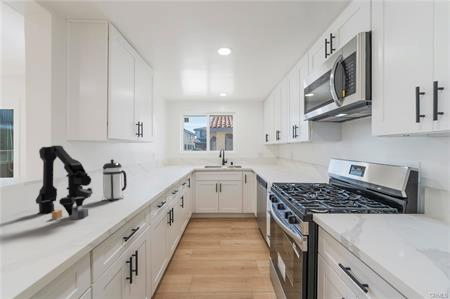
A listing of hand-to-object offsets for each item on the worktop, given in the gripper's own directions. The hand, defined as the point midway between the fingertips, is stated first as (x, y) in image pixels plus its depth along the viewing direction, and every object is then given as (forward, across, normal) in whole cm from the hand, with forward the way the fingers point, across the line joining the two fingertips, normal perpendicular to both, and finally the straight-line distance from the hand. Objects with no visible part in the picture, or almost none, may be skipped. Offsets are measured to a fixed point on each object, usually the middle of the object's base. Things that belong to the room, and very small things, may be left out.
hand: (75, 212), depth 132 cm
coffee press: (+3, +46, -4) cm, 46 cm away
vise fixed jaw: (+2, 0, -4) cm, 5 cm away
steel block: (+3, 0, 0) cm, 3 cm away
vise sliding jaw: (+2, 0, +10) cm, 10 cm away
